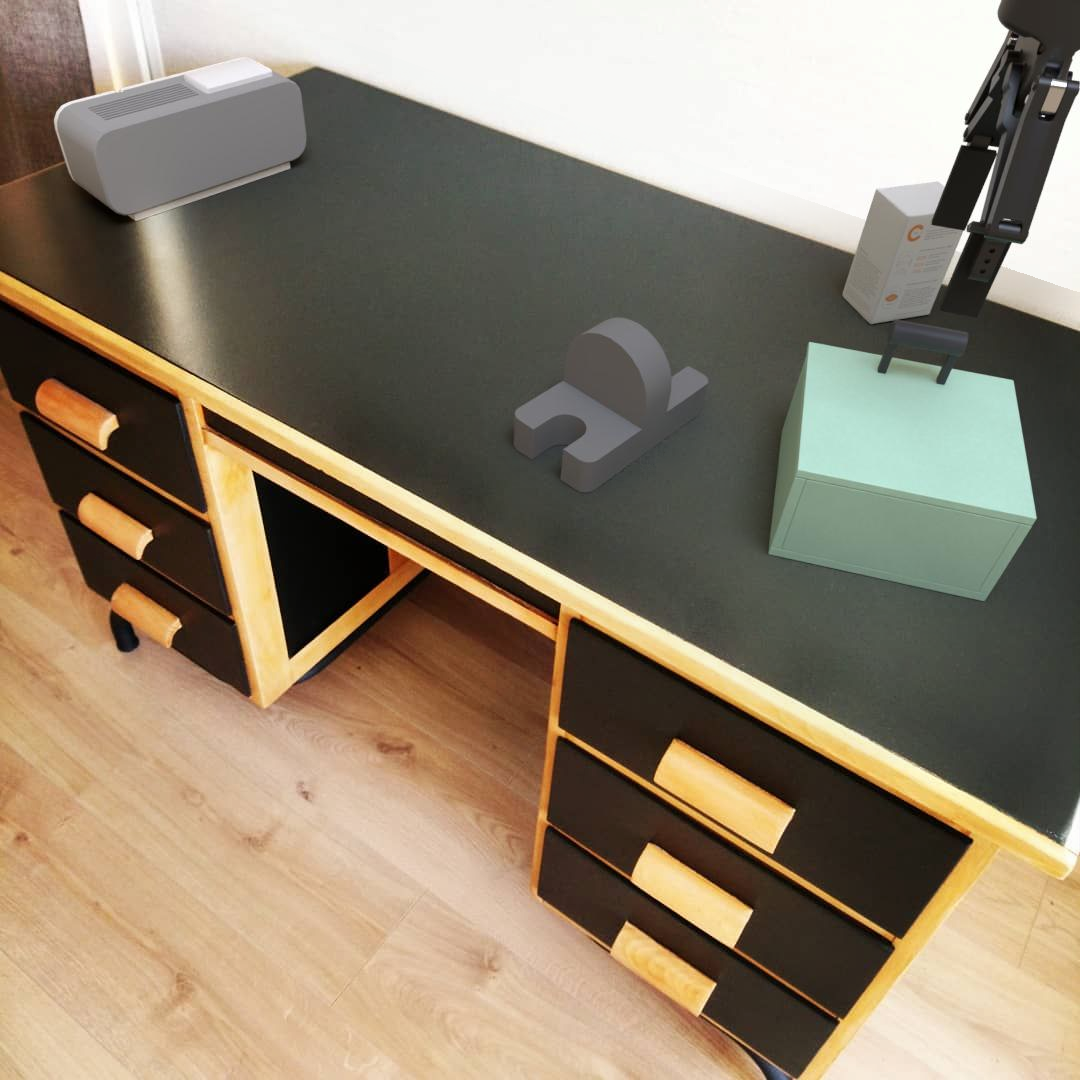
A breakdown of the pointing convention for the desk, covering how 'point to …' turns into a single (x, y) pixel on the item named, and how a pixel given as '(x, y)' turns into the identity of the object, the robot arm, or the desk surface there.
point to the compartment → (884, 530)
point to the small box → (900, 255)
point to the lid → (915, 427)
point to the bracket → (609, 404)
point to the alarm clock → (182, 136)
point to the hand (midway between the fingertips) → (952, 266)
